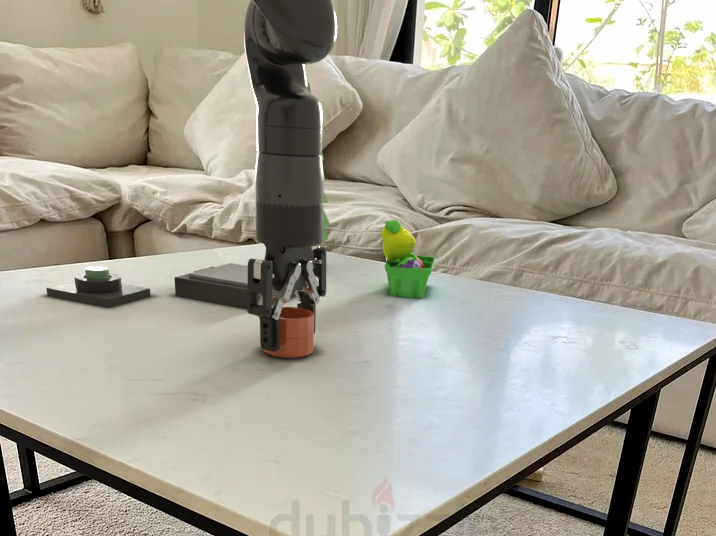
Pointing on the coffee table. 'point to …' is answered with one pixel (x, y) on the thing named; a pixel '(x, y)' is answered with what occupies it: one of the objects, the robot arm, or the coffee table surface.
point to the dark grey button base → (98, 291)
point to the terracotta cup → (295, 333)
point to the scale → (217, 285)
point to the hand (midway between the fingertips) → (288, 342)
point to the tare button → (97, 273)
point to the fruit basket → (404, 262)
